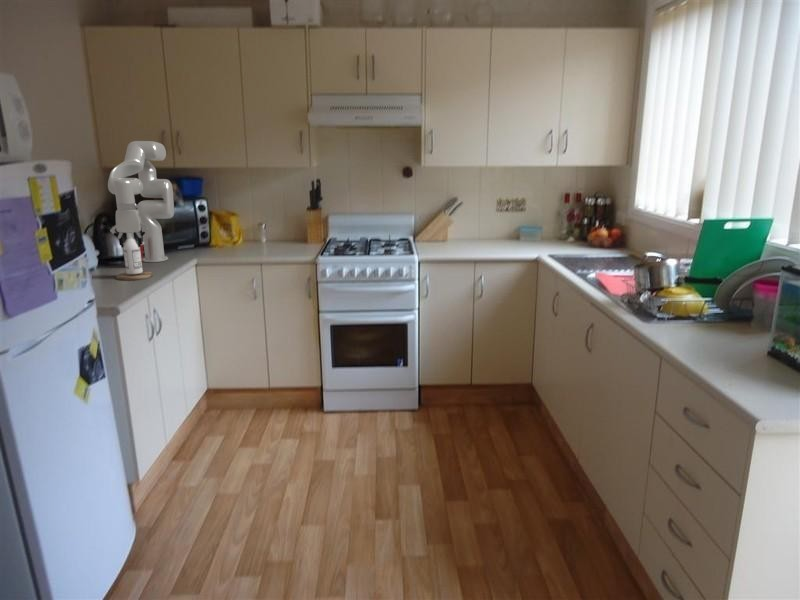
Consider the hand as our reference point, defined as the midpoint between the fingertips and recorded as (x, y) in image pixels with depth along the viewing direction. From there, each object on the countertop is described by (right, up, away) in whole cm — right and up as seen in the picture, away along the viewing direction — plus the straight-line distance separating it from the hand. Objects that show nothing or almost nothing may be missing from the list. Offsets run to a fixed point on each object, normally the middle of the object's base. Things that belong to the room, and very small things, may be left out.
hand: (131, 246), depth 252 cm
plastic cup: (-11, -8, +26) cm, 29 cm away
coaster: (0, -14, +4) cm, 14 cm away
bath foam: (0, -12, +4) cm, 13 cm away
